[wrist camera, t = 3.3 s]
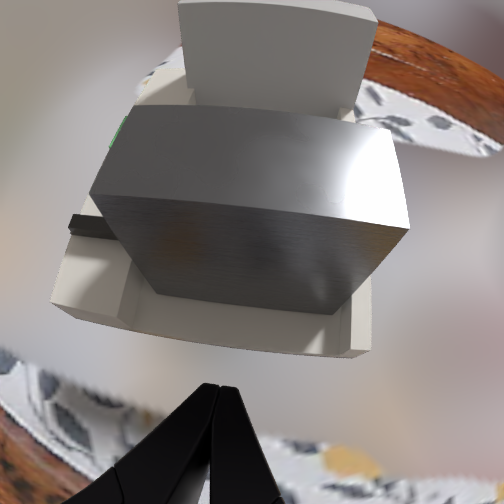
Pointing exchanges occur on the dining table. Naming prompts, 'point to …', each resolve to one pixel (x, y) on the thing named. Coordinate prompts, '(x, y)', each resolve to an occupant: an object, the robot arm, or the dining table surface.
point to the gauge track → (191, 319)
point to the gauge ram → (250, 204)
